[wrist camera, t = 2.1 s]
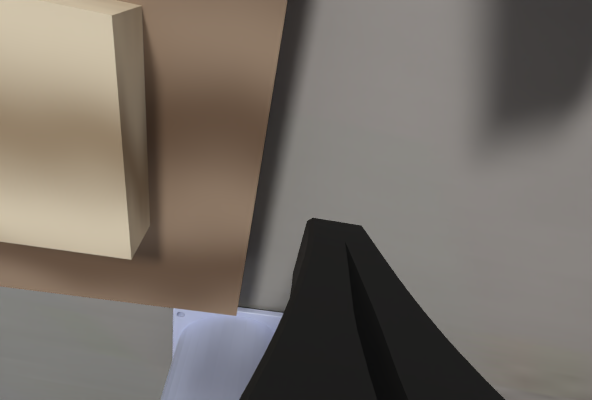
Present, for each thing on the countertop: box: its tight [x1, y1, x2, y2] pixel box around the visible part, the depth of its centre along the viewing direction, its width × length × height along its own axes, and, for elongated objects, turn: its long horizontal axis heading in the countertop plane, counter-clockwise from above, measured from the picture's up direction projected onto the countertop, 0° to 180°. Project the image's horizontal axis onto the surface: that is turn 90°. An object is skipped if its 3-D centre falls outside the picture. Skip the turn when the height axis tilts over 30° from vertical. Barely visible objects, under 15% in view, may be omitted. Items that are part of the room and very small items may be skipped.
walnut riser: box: [0, 0, 288, 316], centre depth 14 cm, size 18×12×4 cm, turn 169°
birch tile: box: [0, 0, 150, 260], centre depth 11 cm, size 8×6×2 cm
